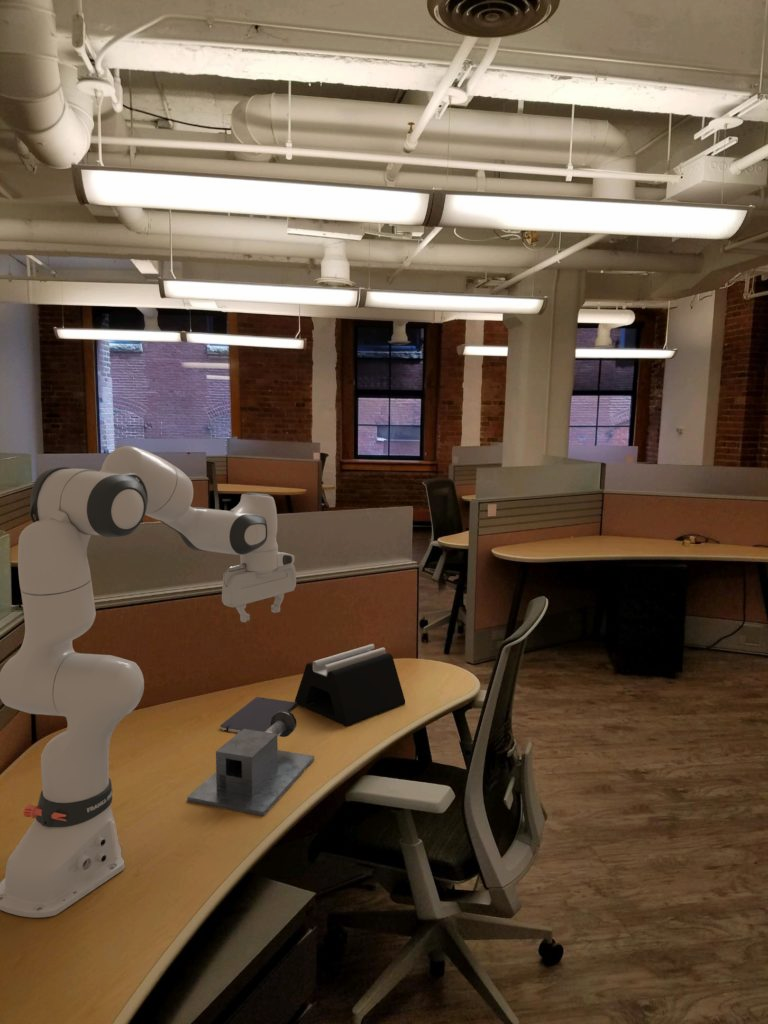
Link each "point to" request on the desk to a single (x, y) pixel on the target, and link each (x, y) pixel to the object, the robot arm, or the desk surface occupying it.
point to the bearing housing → (250, 774)
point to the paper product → (256, 715)
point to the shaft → (282, 724)
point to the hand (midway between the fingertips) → (260, 616)
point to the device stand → (351, 685)
